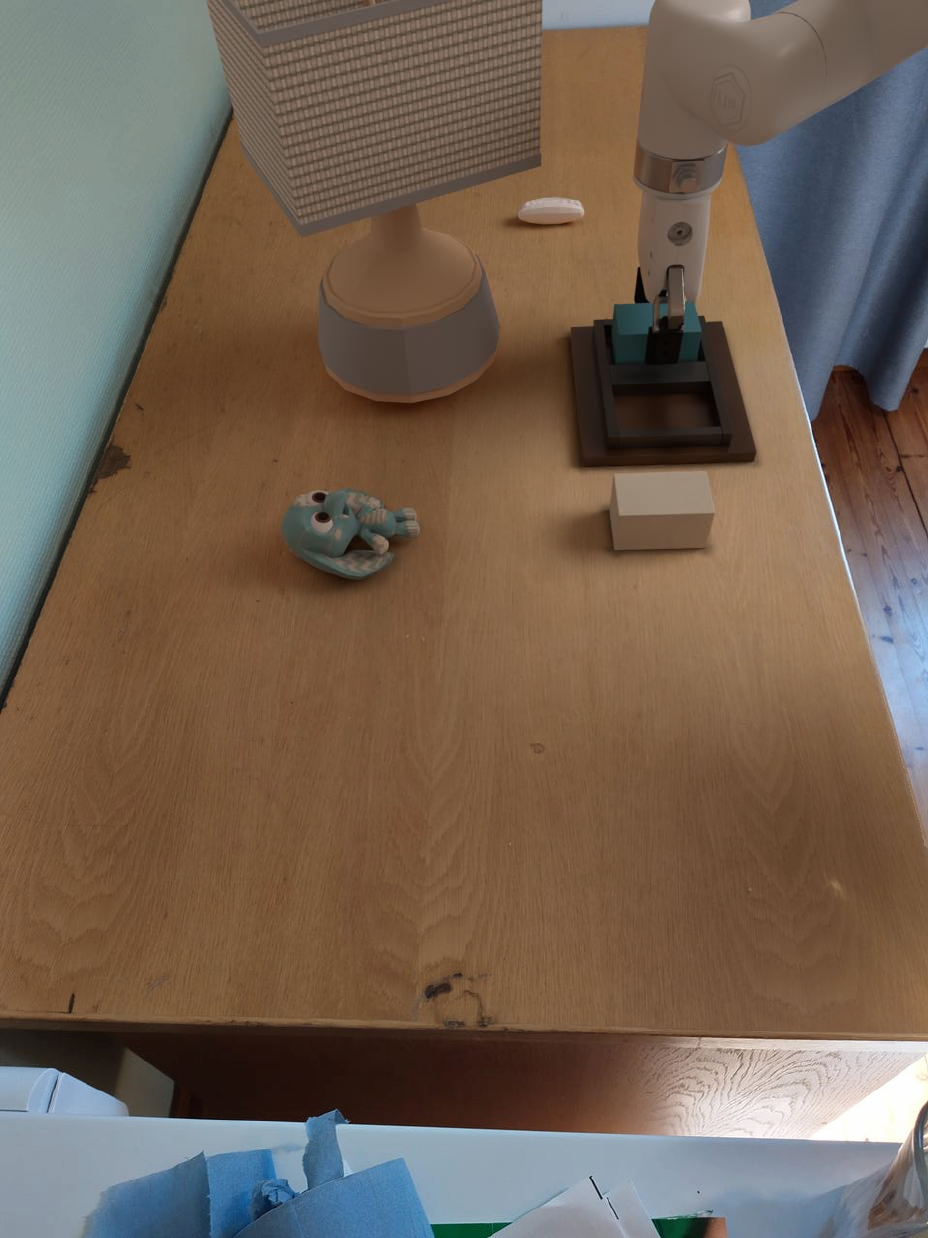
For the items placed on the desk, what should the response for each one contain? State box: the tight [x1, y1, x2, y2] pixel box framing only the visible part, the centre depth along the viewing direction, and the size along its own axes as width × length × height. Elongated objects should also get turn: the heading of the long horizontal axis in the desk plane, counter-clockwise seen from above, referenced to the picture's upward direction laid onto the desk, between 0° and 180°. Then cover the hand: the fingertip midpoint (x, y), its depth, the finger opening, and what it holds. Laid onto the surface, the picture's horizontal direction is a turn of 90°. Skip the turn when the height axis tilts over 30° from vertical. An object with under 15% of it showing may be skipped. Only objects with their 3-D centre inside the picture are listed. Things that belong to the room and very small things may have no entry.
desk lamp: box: [205, 0, 543, 404], centre depth 80 cm, size 22×19×37 cm
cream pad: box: [608, 470, 716, 551], centre depth 77 cm, size 8×5×4 cm, turn 89°
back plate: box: [569, 315, 757, 467], centre depth 89 cm, size 16×20×3 cm
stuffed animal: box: [280, 488, 421, 581], centre depth 77 cm, size 11×7×12 cm
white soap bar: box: [517, 196, 585, 226], centre depth 108 cm, size 3×8×3 cm, turn 88°
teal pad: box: [611, 300, 702, 365], centre depth 90 cm, size 8×5×4 cm, turn 89°
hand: (655, 331), depth 89 cm, fingers open, 9 cm apart
